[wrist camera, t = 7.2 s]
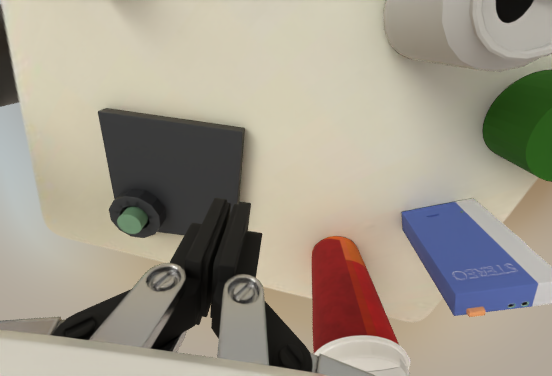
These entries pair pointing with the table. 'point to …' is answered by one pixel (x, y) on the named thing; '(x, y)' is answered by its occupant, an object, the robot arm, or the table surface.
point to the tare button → (132, 220)
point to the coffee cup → (351, 312)
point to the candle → (523, 124)
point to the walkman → (476, 259)
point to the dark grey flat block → (170, 167)
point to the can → (470, 31)
